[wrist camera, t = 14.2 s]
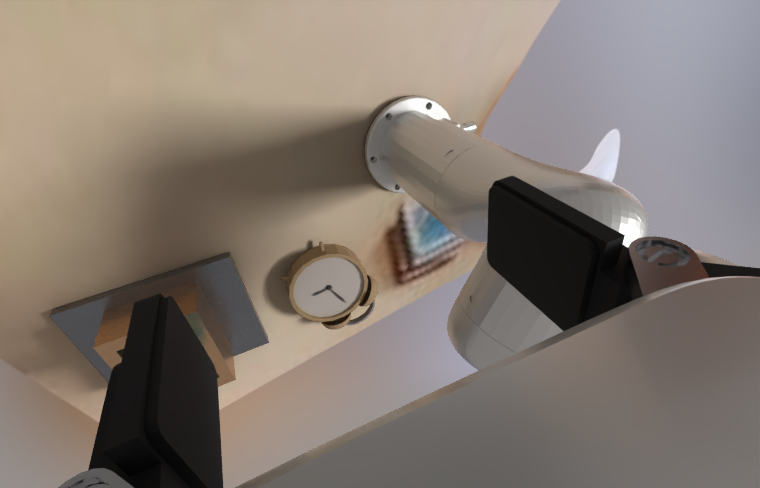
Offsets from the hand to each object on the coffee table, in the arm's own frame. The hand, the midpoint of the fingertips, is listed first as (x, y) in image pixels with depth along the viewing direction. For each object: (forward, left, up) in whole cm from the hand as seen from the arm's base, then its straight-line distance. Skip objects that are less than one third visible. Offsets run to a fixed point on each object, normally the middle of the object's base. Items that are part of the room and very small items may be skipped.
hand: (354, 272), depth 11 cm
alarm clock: (-3, +30, -37) cm, 47 cm away
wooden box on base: (+18, +27, -36) cm, 49 cm away
